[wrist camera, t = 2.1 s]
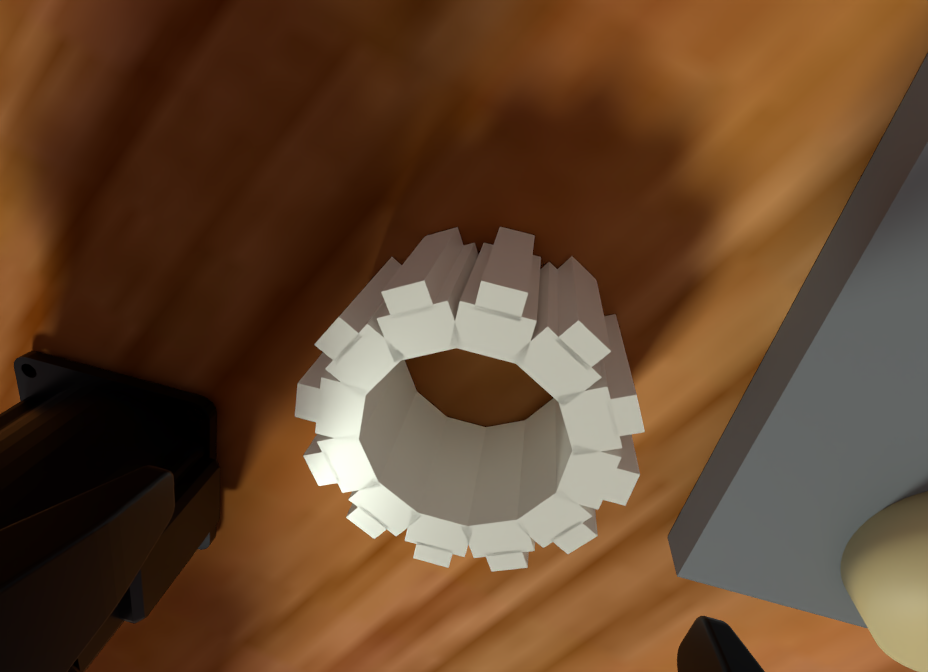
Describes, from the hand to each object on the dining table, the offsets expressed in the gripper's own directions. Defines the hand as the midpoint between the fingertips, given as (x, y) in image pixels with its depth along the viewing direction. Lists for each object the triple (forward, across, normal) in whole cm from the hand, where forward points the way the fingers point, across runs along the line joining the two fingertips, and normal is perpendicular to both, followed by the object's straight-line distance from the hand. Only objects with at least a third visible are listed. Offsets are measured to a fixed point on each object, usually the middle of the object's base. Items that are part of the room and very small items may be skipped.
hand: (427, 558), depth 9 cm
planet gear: (+7, 0, 0) cm, 7 cm away
